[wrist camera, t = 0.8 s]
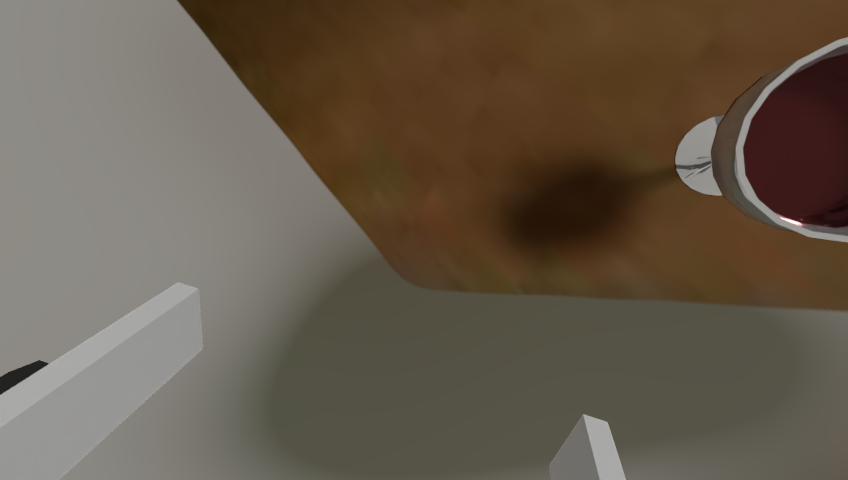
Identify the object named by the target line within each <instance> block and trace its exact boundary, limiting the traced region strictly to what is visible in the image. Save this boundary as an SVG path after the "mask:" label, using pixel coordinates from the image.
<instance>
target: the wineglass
mask: <svg viewBox="0 0 848 480" xmlns="http://www.w3.org/2000/svg"><path fill="white" fill-rule="evenodd" d="M675 162H676V170H677V172H678V174H679V176H680V178H681V180H682V181H683V182H684V183H685V184H686V185H688V186H689V187H690V188H691V189H693V190H696V191H698V192H700V193H703V194H708V195H718V196H719V195H723V197H724V198H725V199H727V200H728V201H729V202H730V203H731V204H732V205H734V206H735V207H736V208H737V209H738V210H739V211H741V212H742V213H743V214H744V215H746V216H747V217H748V218H750V219H753V220H755V221H757V222H760V223H762V224H765V225H767V226H769V227H772V228H774V229H777V230H781V231H789V232H796V233H801V234H803V235H806V236H808V237H813V238H820V239H827V240H835V241H842V242H848V37H847V38H843V39H840V40H837V41H835V42H833V43H831V44H829V45H827V46H825V47H823V48H821V49H819V50H817V51H815V52H814V53H812V54H809V55H805V56H801V57H799V58H797V59H795V60H793V61H791V62H789V63H787V64H785V65H784V66H782V67H780V68H778V69H776V70H774V71H772V72H770V73H768V74H766V75H765V76H763V77H761V78H760V79H759V80H758V81H756V82H755V83H754V84H753V85H752V86H751V87H749V88H748V89H747V90H746V91H745V92H744V93H742V94H741V95H740V96H739V97H738V98H737V99H736V100H735V101H734V102H733V104H732V105H731V107H730V108H729V110H728V111H727V113H726V114H725V115H722V116H717V117H713V118H710V119H708V120H706V121H704V122H702V123H700V124H698V125H696V126H695V127H694V128H693V129H692V130H690V131H689V132H688V133H687V134H686V135H685V137H684V138H683V140H682V141H681V143H680V144H679V146H678V149H677V153H676V157H675Z"/></svg>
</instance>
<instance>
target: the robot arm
mask: <svg viewBox="0 0 848 480" xmlns="http://www.w3.org/2000/svg"><path fill="white" fill-rule="evenodd" d="M202 349H203V342H202V328H201V312H200V298H199V289H197V288H195V287H191V286H188V285H185V284H182V283H179V282H178V283H176V284H175V285H173V286H171V287H170V288H168V289H167V290H165V291H164V292H162V293H161V294H159V295H157V296H156V297H154V298H153V299H151V300H149V301H148V302H146V303H145V304H143V305H142V306H140V307H139V308H137V309H135V310H134V311H132V312H130V313H129V314H127V315H126V316H124V317H123V318H121V319H120V320H118V321H116V322H115V323H113V324H112V325H110V326H108V327H107V328H105V329H104V330H102V331H101V332H99V333H97V334H96V335H94V336H93V337H91V338H89V339H88V340H86V341H85V342H83V343H82V344H80V345H78V346H77V347H75V348H74V349H72V350H70V351H69V352H67V353H66V354H65V355H63V356H61V357H60V358H58V359H56V360H55V361H53V362H52V363H50V364H48V363H45V362H43V361H40V360H39V361H36V362H34V363H32V364H29V365H26V366H24V367H21V368H18V369H16V370H13V371H11V372H8V373H7V374H5V375H3V376H2V377H0V480H59V479H61V478H62V477H63V476H64V475H65V474H66V473H67V472H68V471H69V470H70V469H71V468H73V467H74V466H75V465H76V464H77V463H78V462H79V461H80V460H81V459H82V458H84V457H85V456H86V455H87V454H88V453H89V452H90V451H91V450H92V449H93V448H95V447H96V446H97V445H98V444H99V443H100V442H101V441H102V440H103V439H104V438H106V437H107V436H108V435H109V434H110V433H111V432H112V431H113V430H114V429H115V428H116V427H118V426H119V425H120V424H121V423H122V422H123V421H124V420H125V419H126V418H127V417H129V416H130V415H131V414H132V413H133V412H134V411H135V410H136V409H137V408H138V407H140V405H142V404H143V403H144V402H145V401H146V400H147V399H148V398H149V397H150V396H151V395H153V394H154V393H155V392H156V391H157V390H158V389H159V388H160V387H161V386H163V385H164V384H165V383H166V382H167V381H168V380H169V379H170V378H171V377H172V376H173V375H175V374H176V373H177V372H178V371H179V370H180V369H181V368H182V367H183V366H184V365H186V364H187V363H188V362H189V361H190V360H191V359H192V358H193V357H194V356H195V355H196V354H198V352H200V351H201V350H202ZM549 470H550V477H551V480H626V478H625V475H624V472H623V469H622V466H621V463H620V460H619V456H618V453H617V450H616V447H615V444H614V441H613V438H612V435H611V431H610V429H609V425H608V423H607V422H605V421H602V420H599V419H596V418H593V417H590V416H587V415H584V414H583V415H582V417H581V418H580V420H579V421H578V423H577V424H576V426H575V427H574V429H573V430H572V432H571V433H570V435H569V436H568V438H567V439H566V441H565V442H564V444H563V445H562V447H561V448H560V450H559V451H558V453H557V454H556V456H555V457H554V459H553V460H552V462H551V463H550V465H549Z"/></svg>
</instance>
